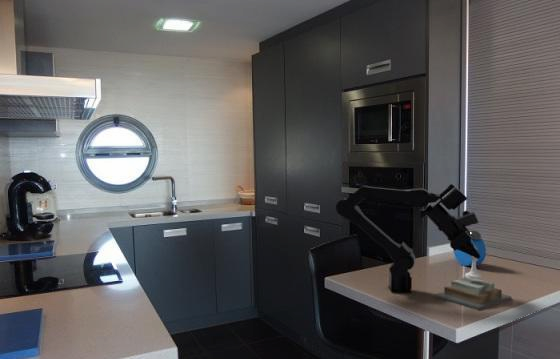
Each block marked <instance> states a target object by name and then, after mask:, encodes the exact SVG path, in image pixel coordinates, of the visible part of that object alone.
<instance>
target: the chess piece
mask: <svg viewBox="0 0 560 359" xmlns="http://www.w3.org/2000/svg"><path fill="white" fill-rule="evenodd" d="M474 248H475V249H476V250H477V248H476V246H474ZM472 257H473V256H472ZM471 260H473V261H472V265H471V269H470V270H469V272H466V273H465V275H464V278H466V277H467V278H471V279H479V280H482V279H483V277H482V276H483V275H482V274H481V273H478V271H477V265H476V261H477V260H478V259H476V258H475V257H473V258H471Z"/></svg>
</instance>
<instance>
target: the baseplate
mask: <svg viewBox="0 0 560 359" xmlns="http://www.w3.org/2000/svg"><path fill="white" fill-rule="evenodd" d="M433 295H434V298H436V299H439V300H444V301H446V302H449V303H452V304H453V303H454V304H456V305H459V306H463V307H466V308H469V307H470V308H469V309H472V308H473V310H476V311H480V310H483V309H486V308H489V307H491V306H494V305H498V304H500V303H503V302H507V301H510V300H512V296H511V295H508V294H505V293H502V296H501V297H500V298H497V299H494V300H491V301H488V302H485V303H482V304H477V303H474V302H470V301H467V300H463V299H460V298H456V297H453V296H450V295H446V294H444V291H442V292H438V293H435V294H433Z"/></svg>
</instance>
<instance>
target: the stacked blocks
mask: <svg viewBox="0 0 560 359" xmlns="http://www.w3.org/2000/svg"><path fill="white" fill-rule="evenodd" d="M443 289H444V290H443V292H444V294H446V295H450V296H453V297H456V298H460V299H463V300H467V301H470V302H474V303H477V304H482V303H485V302H488V301H491V300H494V299H497V298H500V297H501V296H502V294H503V293H502V289H499V288H496V287H495V283H494V282H490V281H487V280H482V279H471V278H467V277H462V278H459V279H456V280H451V284H450V285H448V286H444V287H443Z"/></svg>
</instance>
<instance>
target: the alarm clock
mask: <svg viewBox="0 0 560 359" xmlns="http://www.w3.org/2000/svg"><path fill="white" fill-rule="evenodd" d="M466 232H467V233H469V232H470V235H471V242H472V243H473V245H474V246H476V248H477V251H478V253H479V254H480V258H478V260H477V261H476V266H477V267H478V268H480V265H481V264H482V263H483V262H484V261H485V258H486V256H487V248H486V244H485V242H484V240H483V238H482V234H481V233H480V231H478V230H474V229H473V230H470V229H468V231H466ZM452 251H453V255H454V257H455V259H456V261H457V262H458V263H459V264H460V265H462V266H463V267H469V266H471V267H472V261H473V260H471V258H473V257H472V256H471V255H469V254H467V253H464V252H462V251H460V250H458V249H457V250H455V251H454V250H453V249H452ZM476 259H477V258H476Z"/></svg>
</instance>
